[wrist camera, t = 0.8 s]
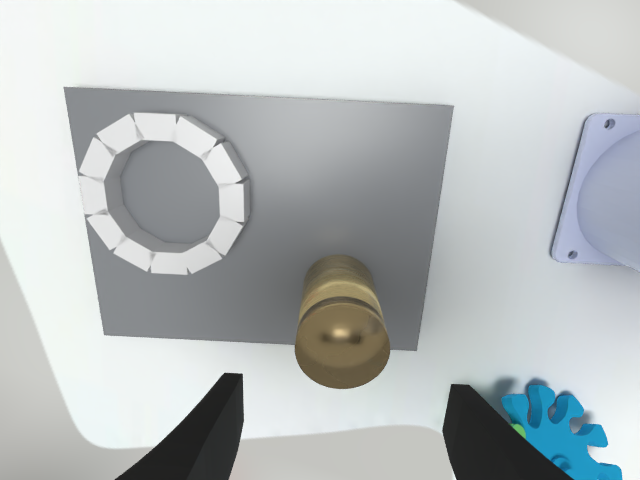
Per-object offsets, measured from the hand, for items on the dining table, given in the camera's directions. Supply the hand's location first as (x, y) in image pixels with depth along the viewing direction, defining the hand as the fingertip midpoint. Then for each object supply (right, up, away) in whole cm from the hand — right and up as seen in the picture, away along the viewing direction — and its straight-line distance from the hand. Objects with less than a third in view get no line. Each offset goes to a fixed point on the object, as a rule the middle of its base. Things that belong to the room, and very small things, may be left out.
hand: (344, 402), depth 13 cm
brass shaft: (0, +3, +8) cm, 9 cm away
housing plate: (-4, +6, +8) cm, 11 cm away
